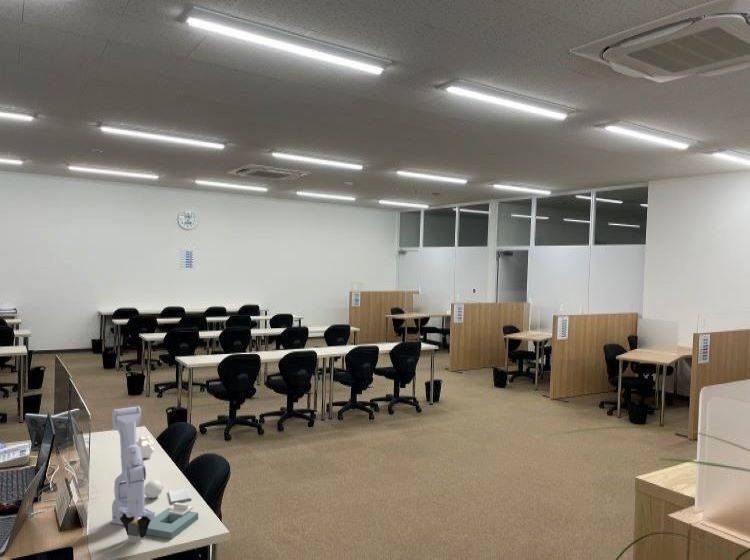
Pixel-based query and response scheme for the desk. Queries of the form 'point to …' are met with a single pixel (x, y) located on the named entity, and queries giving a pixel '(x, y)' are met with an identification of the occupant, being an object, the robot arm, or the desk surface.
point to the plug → (134, 532)
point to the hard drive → (179, 495)
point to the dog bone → (145, 446)
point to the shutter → (180, 509)
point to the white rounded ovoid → (153, 489)
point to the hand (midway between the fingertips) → (136, 535)
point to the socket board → (166, 530)
